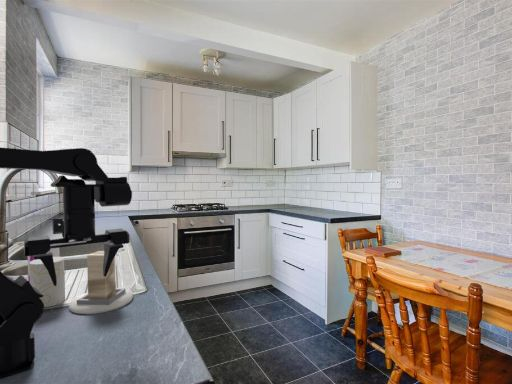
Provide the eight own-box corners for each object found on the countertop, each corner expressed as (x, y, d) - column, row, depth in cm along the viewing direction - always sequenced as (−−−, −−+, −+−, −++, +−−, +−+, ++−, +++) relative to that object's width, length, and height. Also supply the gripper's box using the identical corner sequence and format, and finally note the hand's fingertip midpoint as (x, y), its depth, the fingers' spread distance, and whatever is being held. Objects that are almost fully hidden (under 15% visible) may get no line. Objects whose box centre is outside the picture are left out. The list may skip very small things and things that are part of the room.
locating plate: (114, 314, 75) (114, 301, 75) (54, 313, 76) (54, 300, 76) (142, 291, 91) (141, 280, 91) (92, 290, 92) (92, 279, 92)
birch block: (105, 301, 81) (104, 255, 80) (88, 301, 81) (87, 255, 81) (115, 295, 86) (114, 251, 85) (99, 294, 86) (98, 251, 86)
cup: (24, 309, 78) (23, 265, 78) (38, 298, 86) (37, 257, 86) (59, 305, 81) (57, 263, 80) (69, 295, 88) (68, 255, 88)
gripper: (116, 204, 74) (117, 264, 75) (22, 208, 62) (24, 280, 63) (129, 206, 65) (130, 275, 66) (23, 212, 54) (26, 295, 54)
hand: (81, 280), depth 62 cm, fingers open, 9 cm apart
